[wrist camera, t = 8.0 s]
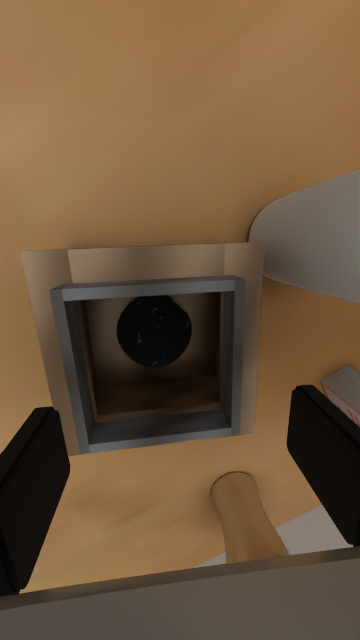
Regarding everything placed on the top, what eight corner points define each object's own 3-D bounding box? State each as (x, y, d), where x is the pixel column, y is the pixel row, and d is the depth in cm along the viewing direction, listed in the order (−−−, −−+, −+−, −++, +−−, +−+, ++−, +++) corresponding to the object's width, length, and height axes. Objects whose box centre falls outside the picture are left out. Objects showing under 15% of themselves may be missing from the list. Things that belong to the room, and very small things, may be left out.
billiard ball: (108, 324, 23) (93, 343, 17) (152, 276, 23) (152, 279, 17) (156, 364, 25) (157, 394, 19) (199, 320, 24) (213, 336, 18)
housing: (223, 243, 24) (281, 240, 13) (221, 376, 28) (265, 453, 17) (68, 249, 22) (-1, 252, 12) (90, 389, 26) (53, 482, 16)
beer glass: (267, 492, 33) (356, 676, 19) (222, 518, 34) (276, 717, 20) (245, 459, 31) (325, 638, 17) (197, 486, 32) (237, 684, 17)
